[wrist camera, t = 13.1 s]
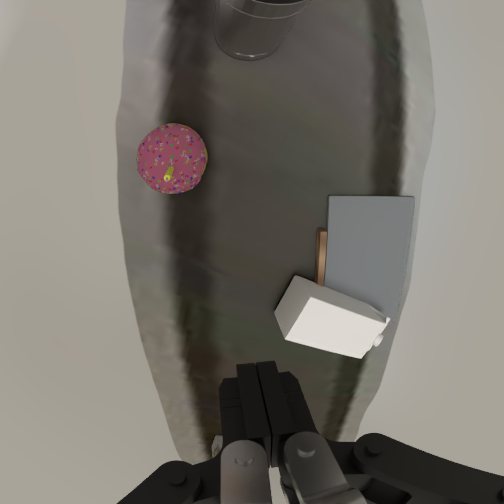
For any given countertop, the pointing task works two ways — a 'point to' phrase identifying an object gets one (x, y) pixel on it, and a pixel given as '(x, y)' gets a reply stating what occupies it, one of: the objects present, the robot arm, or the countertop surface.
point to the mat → (369, 248)
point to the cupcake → (172, 158)
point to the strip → (320, 256)
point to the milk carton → (328, 319)
